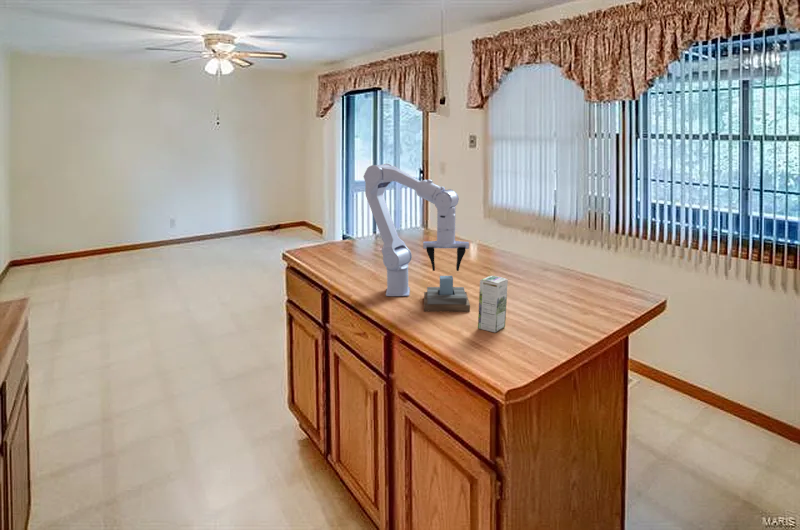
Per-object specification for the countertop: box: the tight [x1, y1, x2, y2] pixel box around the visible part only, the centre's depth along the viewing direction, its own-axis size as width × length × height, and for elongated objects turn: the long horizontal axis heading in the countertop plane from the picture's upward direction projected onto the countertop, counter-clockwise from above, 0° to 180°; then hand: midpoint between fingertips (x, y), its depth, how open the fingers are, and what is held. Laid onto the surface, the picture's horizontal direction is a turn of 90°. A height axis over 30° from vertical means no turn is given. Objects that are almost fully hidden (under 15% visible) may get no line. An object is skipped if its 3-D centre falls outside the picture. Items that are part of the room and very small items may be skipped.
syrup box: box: [477, 275, 509, 333], centre depth 150 cm, size 6×6×14 cm
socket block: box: [423, 286, 471, 313], centre depth 172 cm, size 14×14×4 cm
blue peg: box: [439, 275, 454, 295], centre depth 171 cm, size 4×4×7 cm
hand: (445, 270), depth 174 cm, fingers open, 7 cm apart
